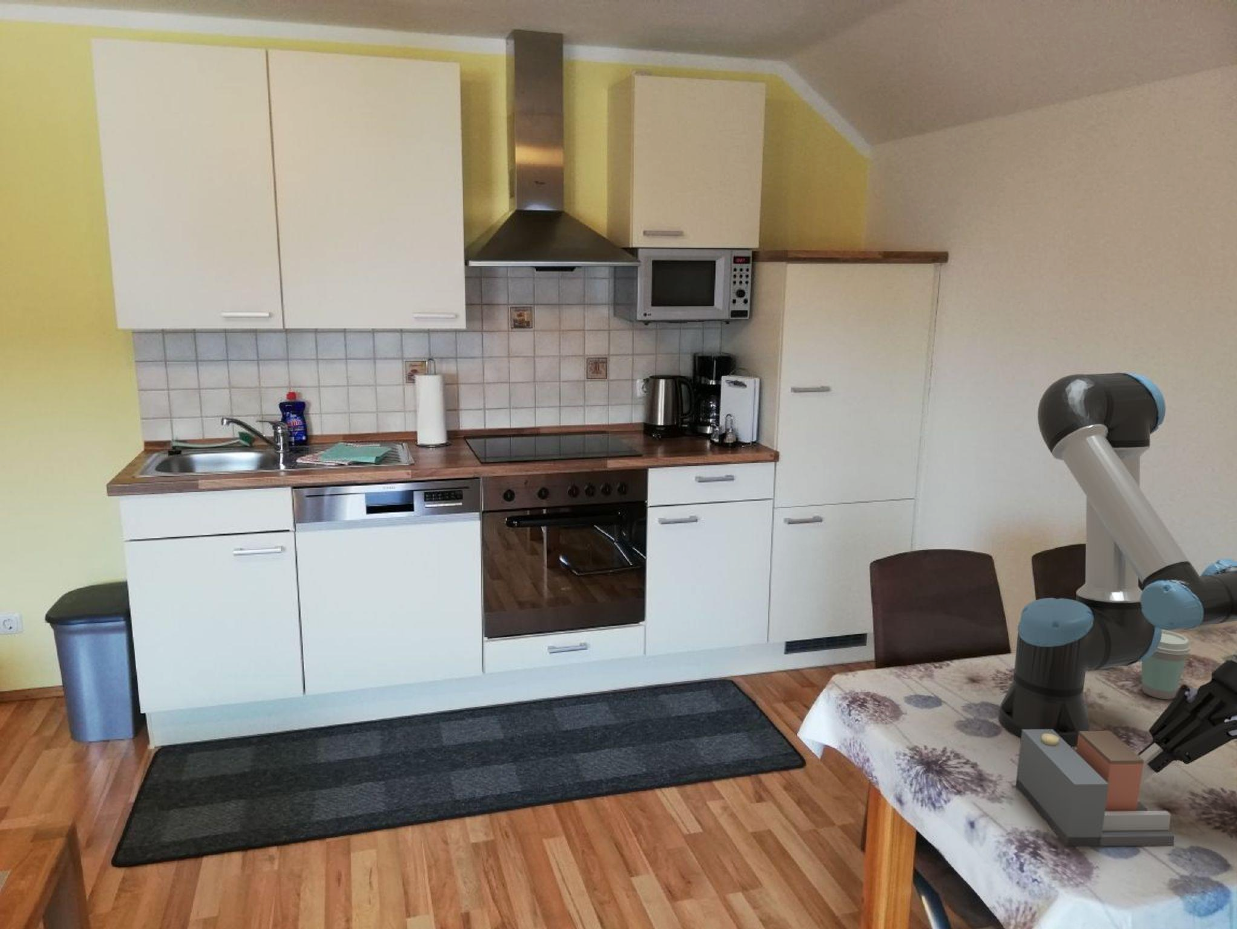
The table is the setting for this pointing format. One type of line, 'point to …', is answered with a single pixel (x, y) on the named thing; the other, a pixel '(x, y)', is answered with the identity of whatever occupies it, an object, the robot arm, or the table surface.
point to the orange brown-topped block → (1113, 767)
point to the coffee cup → (1165, 666)
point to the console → (1080, 797)
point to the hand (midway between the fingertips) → (1129, 778)
